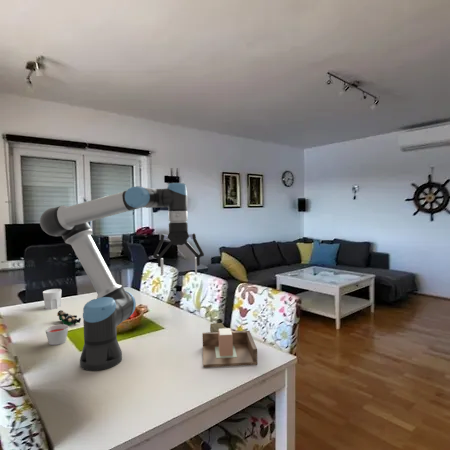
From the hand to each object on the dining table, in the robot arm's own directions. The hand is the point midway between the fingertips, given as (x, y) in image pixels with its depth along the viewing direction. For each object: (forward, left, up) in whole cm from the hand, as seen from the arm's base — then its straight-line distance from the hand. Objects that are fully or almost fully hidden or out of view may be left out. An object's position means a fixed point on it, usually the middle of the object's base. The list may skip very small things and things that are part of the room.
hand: (179, 274), depth 132 cm
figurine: (-60, +40, -32) cm, 79 cm away
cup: (-80, +69, -32) cm, 110 cm away
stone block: (+16, +13, -32) cm, 38 cm away
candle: (-55, +15, -32) cm, 65 cm away
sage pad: (+18, -6, -31) cm, 36 cm away
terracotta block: (+18, -6, -30) cm, 36 cm away
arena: (+19, -6, -32) cm, 37 cm away
